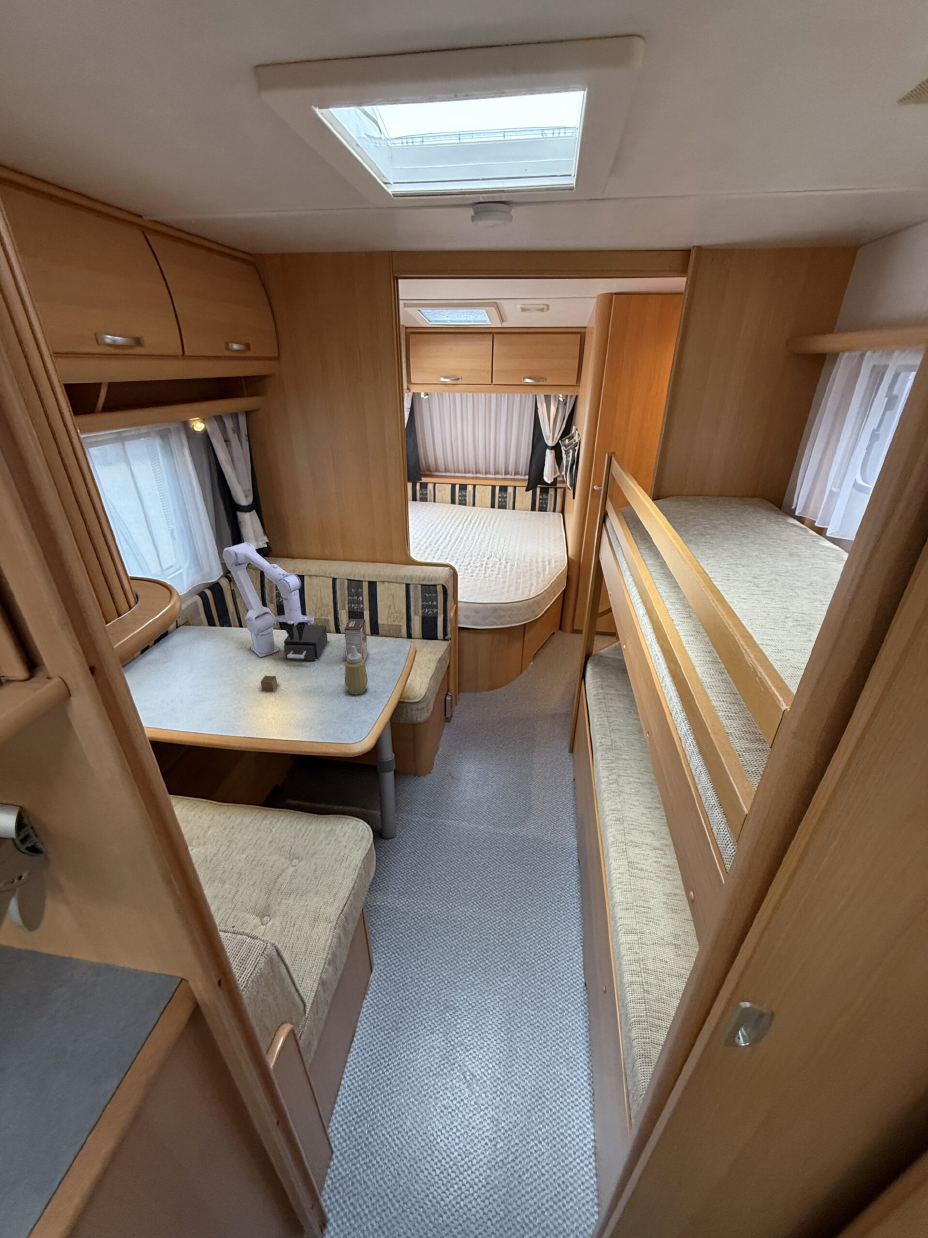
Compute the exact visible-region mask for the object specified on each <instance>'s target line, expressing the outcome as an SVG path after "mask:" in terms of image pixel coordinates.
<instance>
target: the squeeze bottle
mask: <svg viewBox="0 0 928 1238" xmlns="http://www.w3.org/2000/svg"><path fill="white" fill-rule="evenodd" d="M365 663H366V662H364V660H363V659H361V654H359V653H357V650H356V647H355V646H352V650H351V654H349V655H348V660H347V659H346V660H345V663H344V664H345V665H344V685H345V687H346V689H347V691H348V693H350V695H355V696H356V695H362V694H363V693H364V692H365V691H366V688H367V685H368V682H369V678H368V675H367V669H366V664H365Z"/></svg>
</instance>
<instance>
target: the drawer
mask: <svg viewBox="0 0 928 1238" xmlns="http://www.w3.org/2000/svg"><path fill="white" fill-rule="evenodd" d="M283 651H284V657H285V660H299V661H300V660H301V661H302V660H304V661H315V660H316V659H315V647H314V644H297V643H288V645H284V644H283Z"/></svg>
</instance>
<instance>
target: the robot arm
mask: <svg viewBox="0 0 928 1238" xmlns="http://www.w3.org/2000/svg"><path fill="white" fill-rule="evenodd" d="M222 559H223V561H224V562H225V565H226V568H227V569H228V571H230V573H231V576H232V577H233V579H234V582H235V584H236V586H237V589H238V590H239V593H240V595H241V597H242V600H243V601H244V604H245V606H246V609H247V610H248V611H247V613H246V615H245V617H244V620H245V622H246V628H247V630H248V631H249V633H250V637H251V643H252V646H251V647H250V649H251V651H252V652H254V653H255V654H256V655H257V656H259V658H263V657H265V656H269V655H271V654H275V653H277V652H280V649H279V648H278V647H277V646H276V643H275V638H274V628H275V626H276V624H277V623H282V625H281V627H282V628H283V629H284V631H285V632H286V634H287V636H288V635H289V638H290V640H293V639H294V633H293V628H294V624H295V625H296V628H297V631H298V638H299V641H301V640H302V638H303V631H304V627H305V625H307V624H309V625H314V623H315V617H314V616H308V615H303V614H302V608H301V601H300V592H299V589H301V587H302V581H301V579H300V577H299V576H298V575H297V574H296V573H291V572H287V571H285V570H284V569H283V568H281V567H280V566H279V565H278V564H276V563H271V564H270V563H269V562H268V560H266V559H265V558H263V557H262V556H261V555H260V554H259V553H258V552H257V550H256V547H255V546H254V545H253V544H251V543H250V542H249V541H244V542H242V543H239V544H235V545H233V546H229V547H228V546H227V547H225V548H224V549H223V551H222ZM248 564H251V565H252V566H254V567H256V568H258V569H259V570H261V571H262V572H263V573H264V577H265V578H267V579H268V580H270V581H271V582H272V583H274V585H276V586H277V589H278V591H279V593H280V596H281V598H282V602H283V603H282V604H283V609H284V615H283V614H282V615H274V614H273V612H271V610H270V608H269V607H266V606H263V604H262V602H261V600H260V597H259V595H258V592H257V591H256V589H255V587H254V584H253V582H252V580H251V578H250V575H249V573H248V571H247V567H248ZM296 623H297V624H296Z"/></svg>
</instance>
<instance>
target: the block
mask: <svg viewBox="0 0 928 1238" xmlns="http://www.w3.org/2000/svg"><path fill="white" fill-rule="evenodd" d="M260 686H261V691H262V692H274V691H275V690H276V688H277V687H278V681H277V676H276V675H264V676H263V677H262V679H261V680H260Z"/></svg>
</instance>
